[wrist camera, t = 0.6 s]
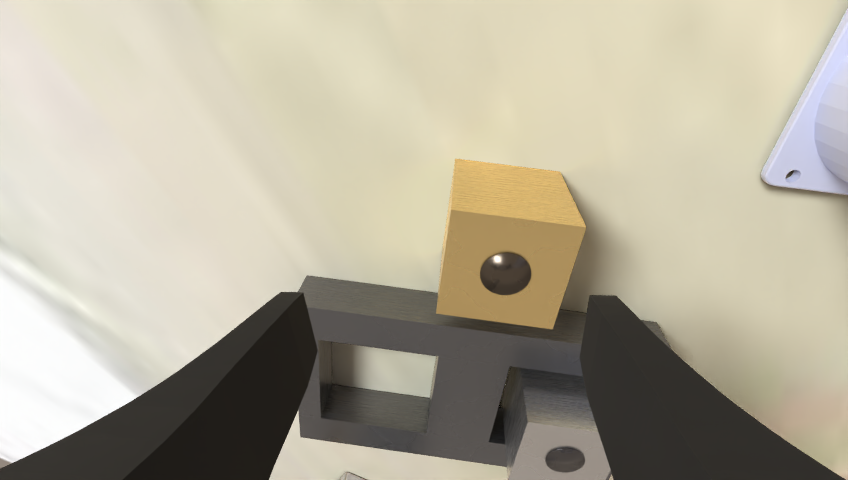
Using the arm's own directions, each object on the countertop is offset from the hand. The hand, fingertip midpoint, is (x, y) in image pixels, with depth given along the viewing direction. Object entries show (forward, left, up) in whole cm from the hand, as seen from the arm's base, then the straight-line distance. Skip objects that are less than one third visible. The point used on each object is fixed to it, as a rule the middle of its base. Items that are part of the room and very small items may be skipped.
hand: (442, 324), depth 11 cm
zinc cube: (-7, +11, -10) cm, 16 cm away
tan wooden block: (-2, +1, -10) cm, 10 cm away
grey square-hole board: (-2, +11, -9) cm, 15 cm away
